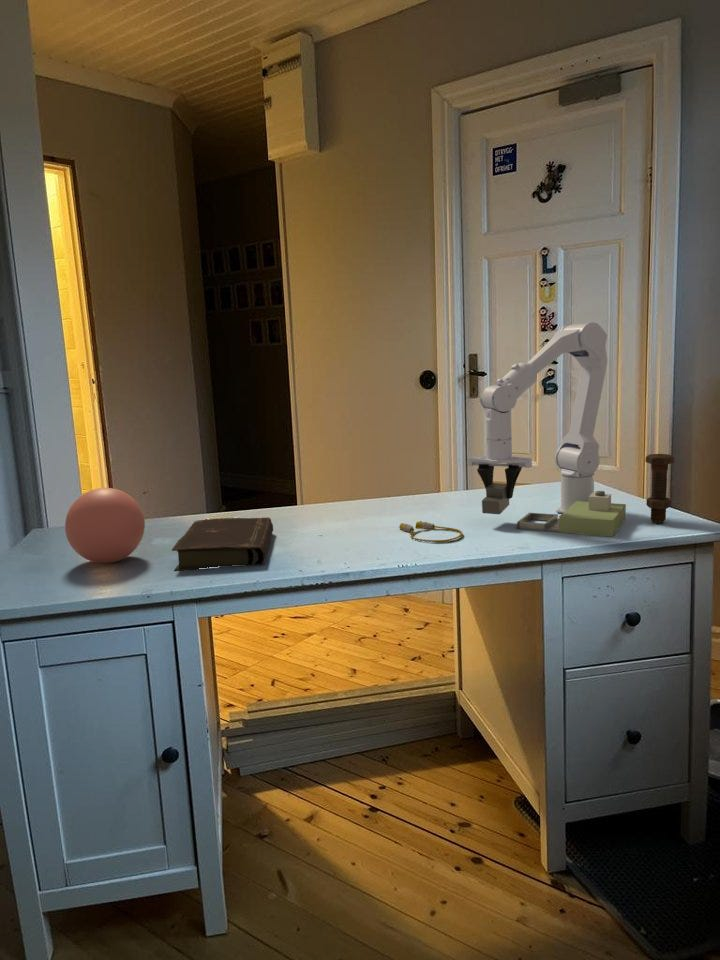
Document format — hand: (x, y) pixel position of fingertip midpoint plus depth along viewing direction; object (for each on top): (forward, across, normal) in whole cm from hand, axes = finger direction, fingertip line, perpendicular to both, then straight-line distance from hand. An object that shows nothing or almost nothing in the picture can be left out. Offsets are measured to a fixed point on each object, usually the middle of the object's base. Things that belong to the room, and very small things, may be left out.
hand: (499, 497), depth 167 cm
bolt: (+6, +33, +9) cm, 35 cm away
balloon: (+5, -66, -56) cm, 87 cm away
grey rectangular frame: (+6, +10, -1) cm, 12 cm away
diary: (+6, -46, -43) cm, 63 cm away
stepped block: (+2, 0, -3) cm, 4 cm away
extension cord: (+6, -10, -16) cm, 20 cm away
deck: (+6, +20, +2) cm, 21 cm away
